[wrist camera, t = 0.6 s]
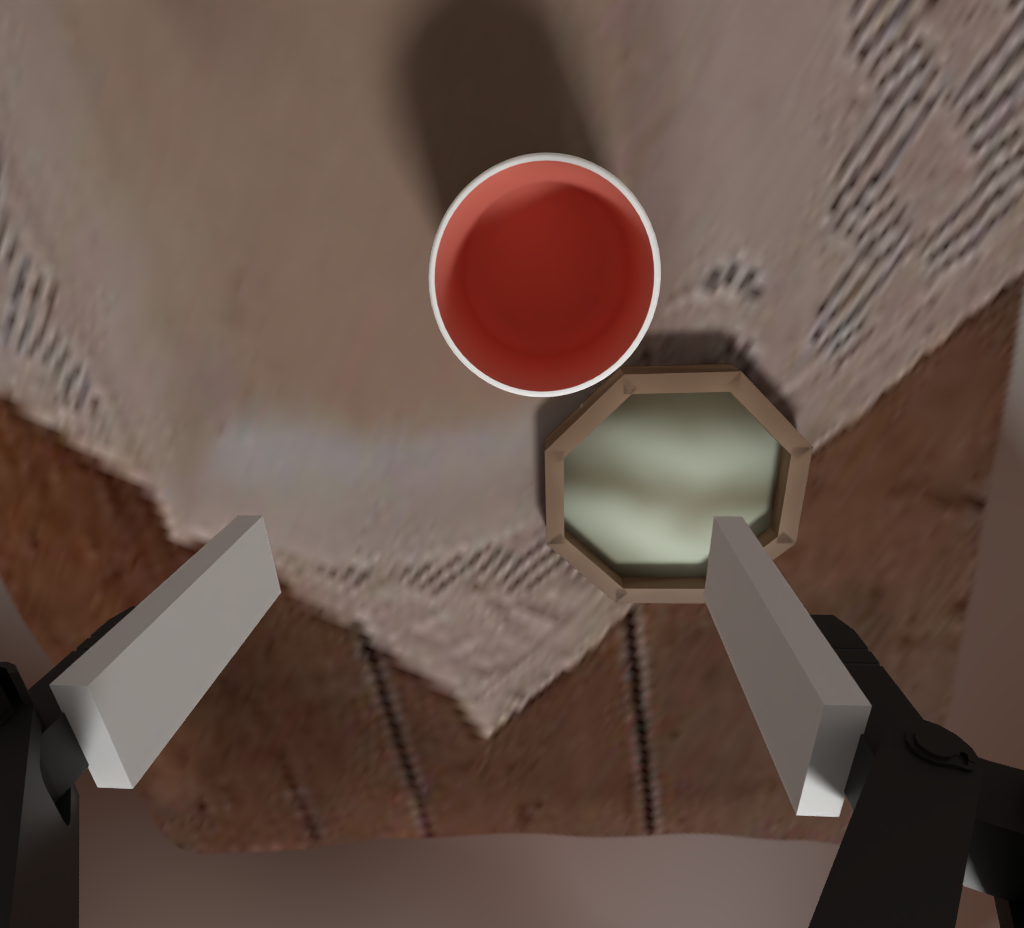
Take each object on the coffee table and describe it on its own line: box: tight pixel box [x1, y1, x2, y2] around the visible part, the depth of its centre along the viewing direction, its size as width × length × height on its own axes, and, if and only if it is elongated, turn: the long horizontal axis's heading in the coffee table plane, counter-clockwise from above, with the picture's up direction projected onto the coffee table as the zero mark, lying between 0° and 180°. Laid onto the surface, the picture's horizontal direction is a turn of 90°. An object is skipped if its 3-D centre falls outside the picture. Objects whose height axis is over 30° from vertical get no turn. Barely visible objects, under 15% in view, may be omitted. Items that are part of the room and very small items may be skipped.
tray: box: [545, 364, 813, 603], centre depth 36 cm, size 16×16×2 cm
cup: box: [428, 152, 661, 397], centre depth 28 cm, size 10×10×10 cm
